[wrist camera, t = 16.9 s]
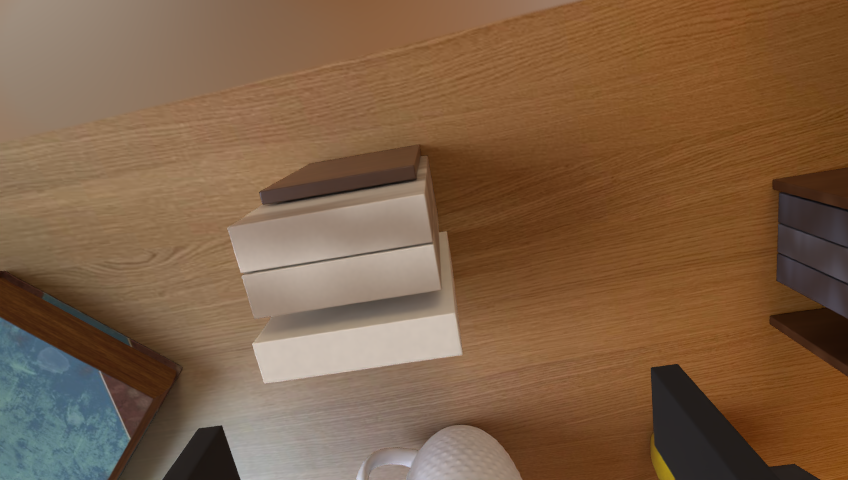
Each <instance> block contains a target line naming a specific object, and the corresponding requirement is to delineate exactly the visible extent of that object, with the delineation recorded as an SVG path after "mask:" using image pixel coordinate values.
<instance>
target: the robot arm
mask: <svg viewBox="0 0 848 480" xmlns="http://www.w3.org/2000/svg"><path fill="white" fill-rule="evenodd" d="M651 383H652V405H653V426H654V446H655V447H656V449H657V451H658V452H659V454H660V455H661V457H662V459H663V460H664V462H665V464H666V465H667V467H668V468H669V470H670V472H671V473H672V475H673V477H674V478H675V480H820V479H818V478H817V477H815V476H813V475H812V474H810V473H808V472H807V471H805V470H803V469H802V468H800V467H799V466H797V465H795V464H790V465H781V466H773V467H768V465H767V464H766V463H765V462H764V461H763V460H762V459H761V457H760V456H759V455H758V454H757V453H756V452H755V451H754V450H753V448H752V447H751V446H750V445H749V444H748V443H747V442H746V441H745V439H744V438H743V437H742V436H741V435H740V434H739V433H738V432H737V430H736V429H735V428H734V427H733V426H732V425H731V424H730V423H729V421H728V420H727V419H726V418H725V417H724V416H723V415H722V414H721V412H720V411H719V410H718V409H717V408H716V407H715V406H714V404H713V403H712V402H711V401H710V400H709V399H708V398H707V397H706V395H705V394H704V393H703V392H702V391H701V390H700V389H699V388H698V386H697V385H696V384H695V383H694V382H693V381H692V380H691V379H690V377H689V376H688V375H687V374H686V373H685V372H684V371H683V370H682V368H681V367H680V366H679V365H678V364H674V365H666V366H659V367H652V368H651ZM163 480H240V477H239V474H238V471H237V468H236V465H235V462H234V459H233V457H232V454H231V451H230V448H229V445H228V442H227V439H226V436H225V433H224V430H223V427H222V426H214V427H207V428H199V429H198V430H197V431H196V433H195V434H194V436H193V437H192V438H191V440H190V441H189V443H188V444H187V446H186V447H185V448H184V450H183V451H182V453H181V454H180V455H179V457H178V458H177V460H176V461H175V463H174V464H173V465H172V467H171V468H170V470H169V471H168V472H167V474H166V475H165V477H164V478H163Z"/></svg>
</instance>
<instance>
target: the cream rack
mask: <svg viewBox="0 0 848 480" xmlns="http://www.w3.org/2000/svg"><path fill="white" fill-rule="evenodd" d="M420 156H421V151H420V145H414V146H408V147H402V148H397V149H391V150H385V151H379V152H374V153H368V154H362V155H357V156H351V157H345V158H340V159H334V160H328V161H323V162H317V163H311V164H308V165H307V166H305V167H303V168H301V169H299V170H298V171H296V172H294V173H292V174H290V175H289V176H287V177H285V178H283V179H281V180H280V181H278V182H276V183H274V184H272V185H271V186H269V187H267V188H265V189H263V190H262V191H260V192H259V194H260V197H261V201H262V204H263V205H261V206H260V207H258V208H257V209H255V210H254V211H252V212H250V213H249V214H247V215H246V216H244V217H243V218H241V219H240V220H238V221H236V222H235V223H233V224H232V225H230V226H229V227H228V232H229V235H230V238H231V242H232V245H233V249H234V252H235V255H236V259H237V262H238V265H239V269H240V272H241V273H244V274H243V275H242V279H243V282H244V286H245V289H246V293H247V296H248V299H249V303H250V306H251V309H252V313H253V316H254V319H259V318H265V317H272V316H278V315H284V314H291V313H297V312H304V311H310V310H316V309H323V308H329V307H335V306H342V305H348V304H355V303H361V302H367V301H374V300H380V299H387V298H393V297H399V296H406V295H412V294H418V293H425V292H431V291H438V290H442V281H441V262H440V244H439V225H438V213H437V207H436V201H435V195H434V190H433V184H432V178H431V172H430V166H429V160H428V156H421V157H420Z"/></svg>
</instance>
